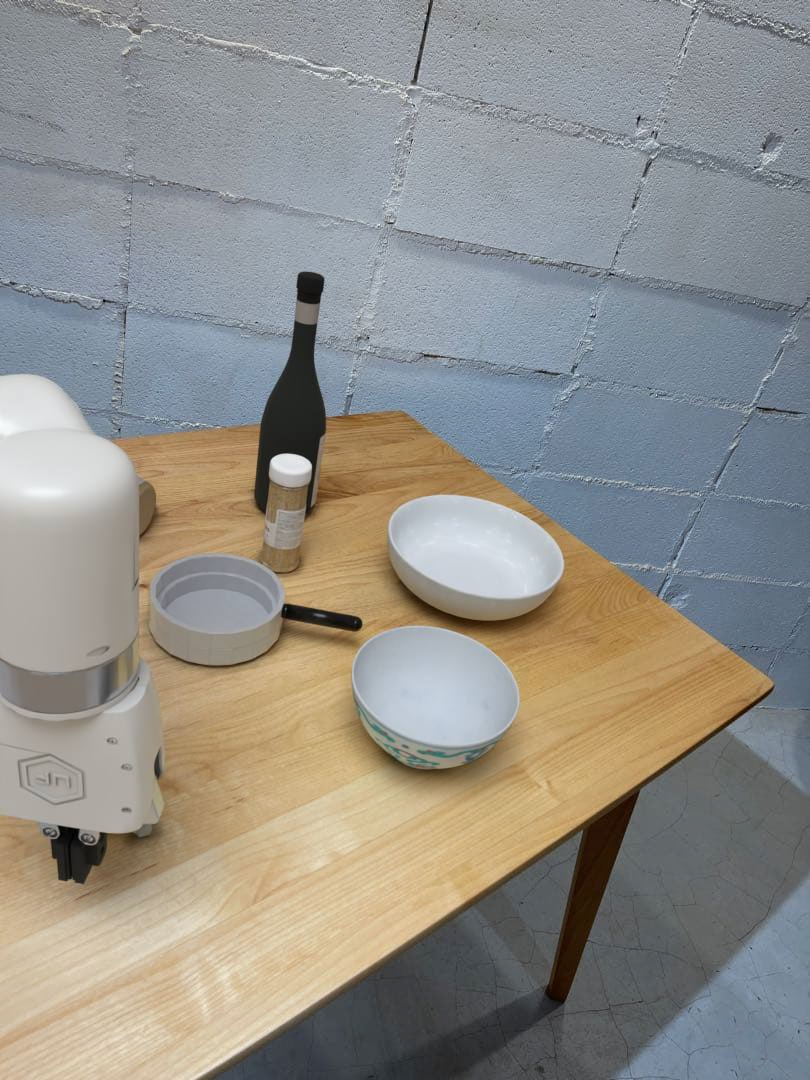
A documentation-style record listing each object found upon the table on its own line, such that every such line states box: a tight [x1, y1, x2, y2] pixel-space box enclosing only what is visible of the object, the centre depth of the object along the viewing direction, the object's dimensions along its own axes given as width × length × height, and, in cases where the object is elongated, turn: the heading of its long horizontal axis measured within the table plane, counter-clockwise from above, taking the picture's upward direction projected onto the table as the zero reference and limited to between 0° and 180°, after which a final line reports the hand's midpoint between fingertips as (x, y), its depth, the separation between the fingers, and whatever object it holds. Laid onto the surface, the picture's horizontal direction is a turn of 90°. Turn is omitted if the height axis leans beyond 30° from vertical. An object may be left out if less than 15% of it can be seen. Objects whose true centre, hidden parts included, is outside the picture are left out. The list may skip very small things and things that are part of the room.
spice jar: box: [260, 454, 312, 573], centre depth 92 cm, size 5×5×13 cm
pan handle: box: [281, 602, 364, 633], centre depth 83 cm, size 9×2×2 cm, turn 86°
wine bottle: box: [253, 271, 327, 516], centre depth 98 cm, size 8×8×30 cm
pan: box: [148, 552, 286, 667], centre depth 83 cm, size 13×13×4 cm
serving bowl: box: [386, 494, 565, 622], centre depth 96 cm, size 21×21×7 cm
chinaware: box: [350, 625, 521, 770], centre depth 73 cm, size 15×15×8 cm
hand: (80, 863), depth 54 cm, fingers closed
